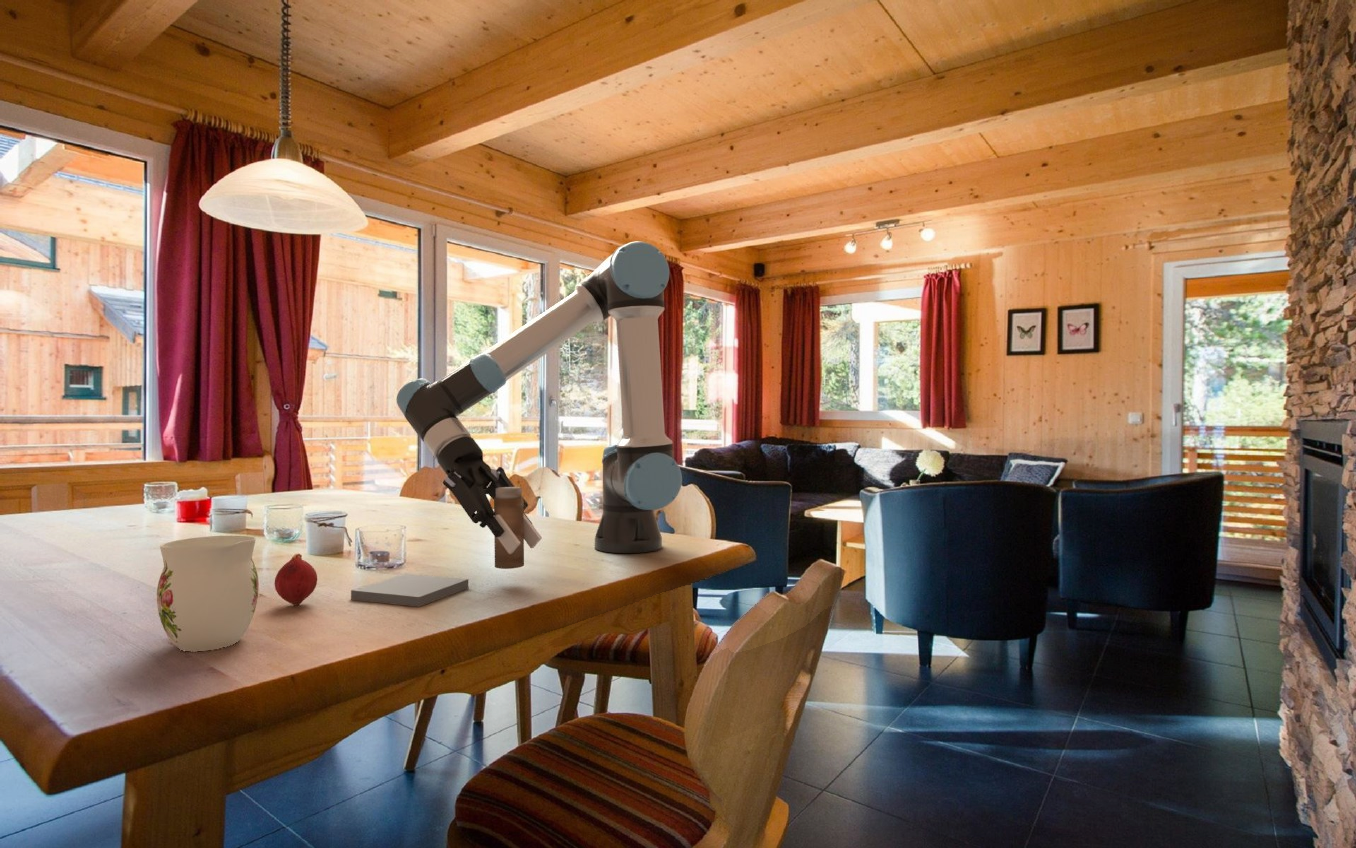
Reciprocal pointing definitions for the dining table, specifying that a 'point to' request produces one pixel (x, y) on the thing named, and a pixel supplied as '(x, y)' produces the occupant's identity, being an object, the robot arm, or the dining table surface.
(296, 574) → the onion
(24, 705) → the dining table surface
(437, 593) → the slate board
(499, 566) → the pepper mill
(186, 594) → the pitcher
